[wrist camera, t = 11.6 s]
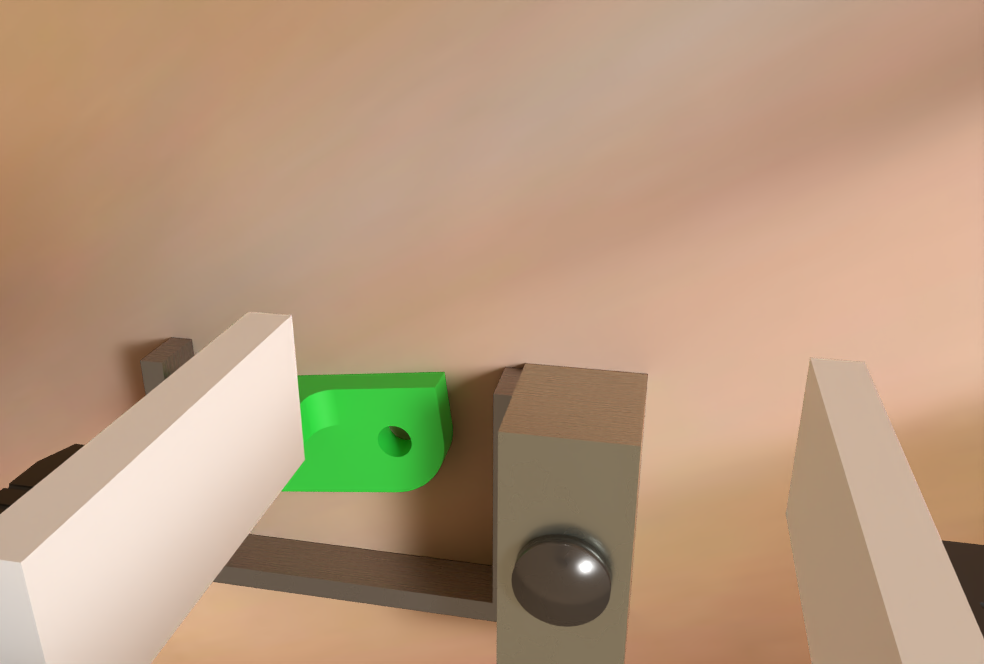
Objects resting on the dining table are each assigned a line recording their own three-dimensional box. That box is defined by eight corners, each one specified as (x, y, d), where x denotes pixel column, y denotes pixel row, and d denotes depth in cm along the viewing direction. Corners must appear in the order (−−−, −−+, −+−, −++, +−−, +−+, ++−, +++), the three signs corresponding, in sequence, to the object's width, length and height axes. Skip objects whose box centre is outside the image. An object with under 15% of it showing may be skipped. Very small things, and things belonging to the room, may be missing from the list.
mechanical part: (255, 471, 51) (183, 558, 43) (231, 375, 48) (151, 449, 41) (460, 472, 48) (420, 564, 41) (445, 370, 46) (399, 448, 38)
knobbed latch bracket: (170, 332, 48) (80, 397, 41) (647, 374, 43) (639, 456, 36) (202, 548, 53) (128, 639, 46) (629, 606, 49) (619, 716, 42)
